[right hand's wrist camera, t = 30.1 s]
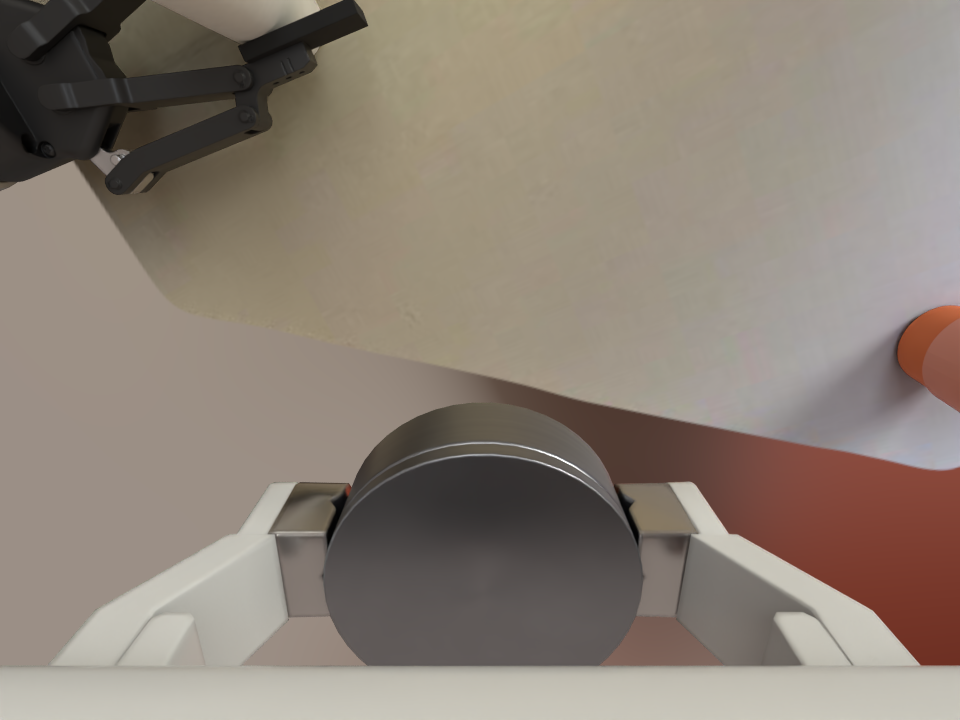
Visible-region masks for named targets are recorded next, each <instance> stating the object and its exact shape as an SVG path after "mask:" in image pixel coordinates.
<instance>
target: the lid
mask: <svg viewBox="0 0 960 720" xmlns="http://www.w3.org/2000/svg"><path fill="white" fill-rule="evenodd" d="M323 586H324V593H325V600H326V604H327V607H328V610H329V613H330V616H331V619H332V621H333V623H334V625H335V627H336V629H337V631H338V633H339V634H340V635H341V637H342V638H343V640H344V641H345V643H346V644H347V646H348V647H349V648H350V649H351V650H352V651H353V652H354V653H355V654H356V656H357V657H358V658H359V659H360V660H362V661H363V662H364V663H365V664H366V665H367V666H599V665H600V664H601V663H602V662H603V661H604V660H606V659H607V658H608V657H609V656H610V655H611V654H612V652H613V651H614V650H615V649H616V648H617V647H618V646H619V645H620V643H621V642H622V640H623V639H624V637H625V636H626V634H627V633H628V631H629V629H630V627H631V625H632V623H633V621H634V619H635V617H636V614H637V611H638V607H639V604H640V601H641V594H642V586H643V570H642V562H641V557H640V552H639V549H638V546H637V543H636V541H635V538H634V536H633V533H632V531H631V528H630V526H629V523H628V521H627V518H626V516H625V514H624V511H623V509H622V506H621V504H620V501H619V499H618V496H617V494H616V491H615V489H614V486H613V484H612V482H611V479H610V477H609V474H608V472H607V470H606V469H605V467H604V465H603V463H602V462H601V460H600V459H599V457H598V456H597V455H596V454H595V452H594V451H593V450H592V449H591V447H590V446H589V445H588V444H587V443H586V442H585V441H584V440H582V439H581V438H580V437H579V436H578V435H577V434H576V433H574V432H573V431H571V430H570V429H569V428H567V427H566V426H564V425H563V424H561V423H559V422H557V421H555V420H553V419H551V418H550V417H548V416H545V415H543V414H540V413H537V412H535V411H532V410H529V409H526V408H521V407H517V406H513V405H508V404H499V403H466V404H458V405H452V406H448V407H444V408H440V409H436V410H433V411H431V412H428V413H426V414H423V415H420V416H418V417H416V418H414V419H412V420H410V421H408V422H406V423H405V424H403V425H401V426H400V427H398V428H397V429H396V430H394V431H393V432H391V433H390V434H389V435H387V436H386V437H385V438H384V439H383V440H382V441H381V442H380V443H379V444H378V445H377V446H376V447H375V448H374V449H373V450H372V452H371V453H370V454H369V456H368V457H367V458H366V459H365V461H364V463H363V464H362V466H361V468H360V470H359V471H358V473H357V475H356V478H355V480H354V483H353V485H352V488H351V490H350V493H349V495H348V498H347V501H346V503H345V506H344V508H343V511H342V513H341V516H340V518H339V521H338V523H337V526H336V528H335V531H334V533H333V536H332V538H331V541H330V544H329V546H328V549H327V553H326V558H325V563H324V572H323Z"/></svg>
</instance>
